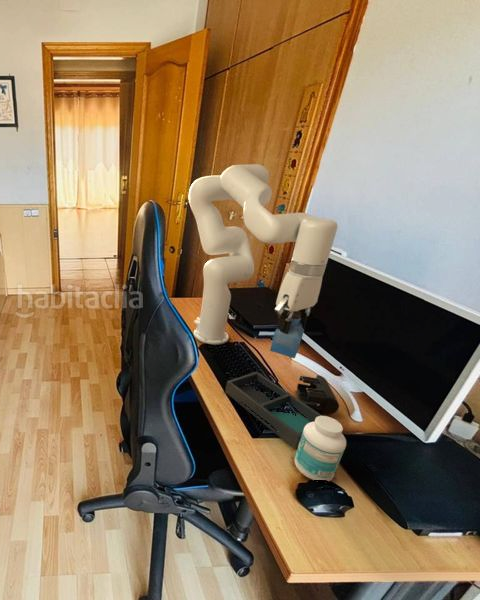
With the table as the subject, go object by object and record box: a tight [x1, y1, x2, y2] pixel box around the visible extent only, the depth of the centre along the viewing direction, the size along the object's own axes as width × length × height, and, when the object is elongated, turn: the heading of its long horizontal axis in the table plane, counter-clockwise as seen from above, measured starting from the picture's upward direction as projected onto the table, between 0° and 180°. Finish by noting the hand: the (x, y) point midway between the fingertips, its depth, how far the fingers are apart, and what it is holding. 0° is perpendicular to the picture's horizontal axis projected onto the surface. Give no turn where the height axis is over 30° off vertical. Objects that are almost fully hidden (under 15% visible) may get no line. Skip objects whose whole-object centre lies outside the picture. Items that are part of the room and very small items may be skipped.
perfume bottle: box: [269, 311, 305, 359], centre depth 92 cm, size 6×6×12 cm
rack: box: [224, 371, 322, 450], centre depth 89 cm, size 22×12×4 cm, turn 21°
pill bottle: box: [293, 415, 347, 482], centre depth 71 cm, size 8×7×14 cm
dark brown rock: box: [295, 374, 340, 416], centre depth 90 cm, size 10×7×7 cm
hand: (290, 328), depth 91 cm, fingers closed on perfume bottle, 5 cm apart
